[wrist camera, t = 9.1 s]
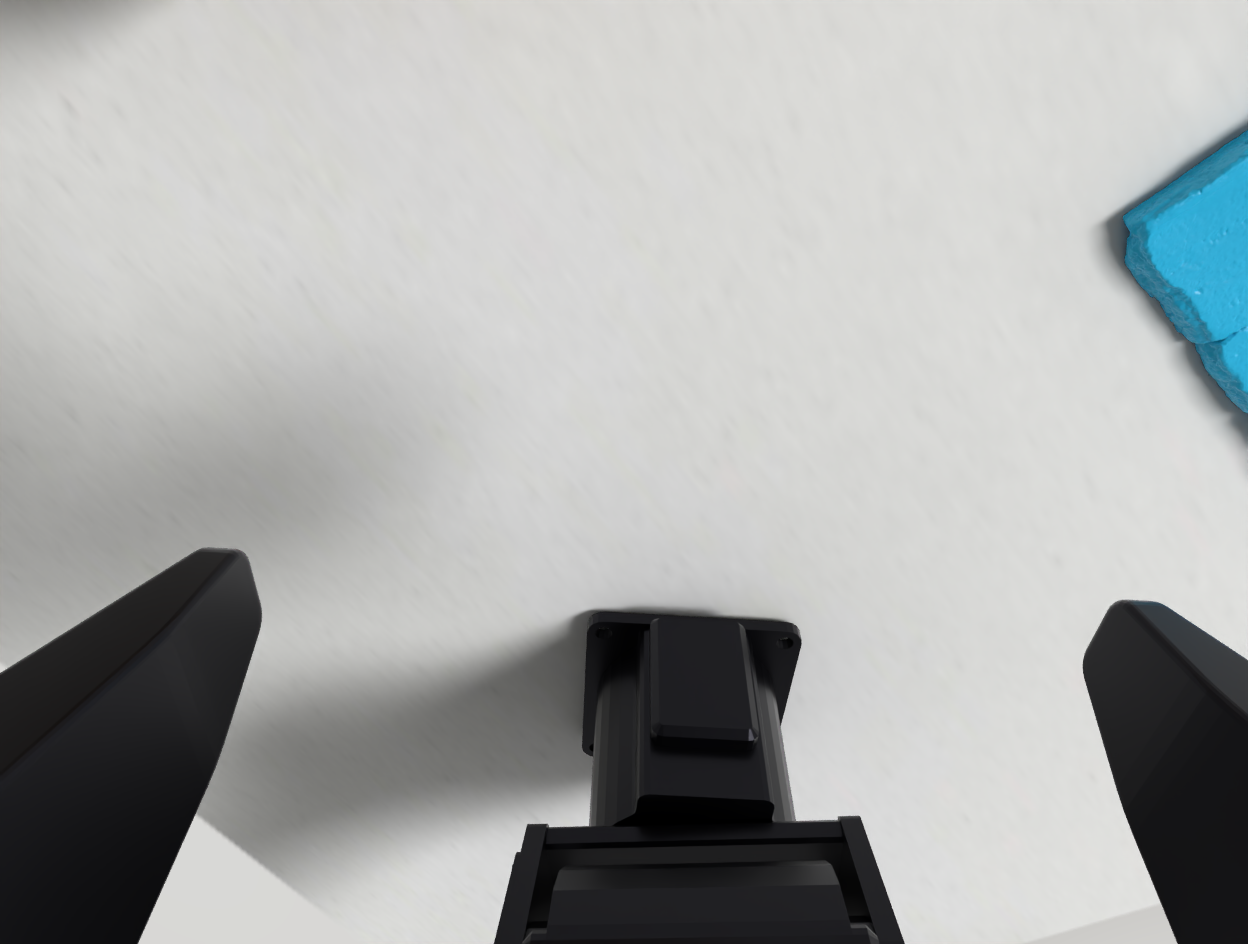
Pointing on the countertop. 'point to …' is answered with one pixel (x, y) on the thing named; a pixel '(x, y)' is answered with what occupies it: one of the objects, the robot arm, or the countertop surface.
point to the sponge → (1201, 260)
